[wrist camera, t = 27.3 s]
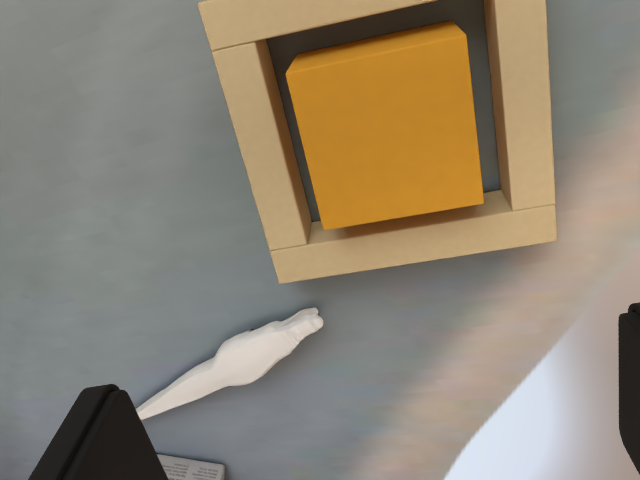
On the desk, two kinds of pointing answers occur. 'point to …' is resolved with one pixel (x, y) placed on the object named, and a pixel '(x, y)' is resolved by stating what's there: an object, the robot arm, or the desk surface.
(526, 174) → the socket pad
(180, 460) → the coffee box
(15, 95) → the desk surface
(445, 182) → the small orange block
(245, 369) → the white long pointed piece
